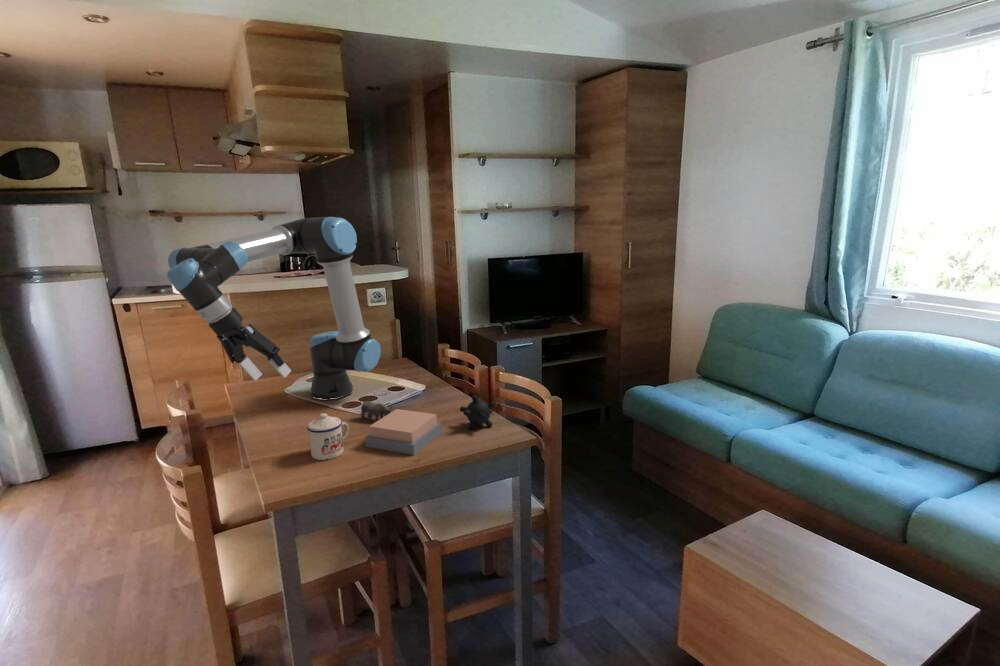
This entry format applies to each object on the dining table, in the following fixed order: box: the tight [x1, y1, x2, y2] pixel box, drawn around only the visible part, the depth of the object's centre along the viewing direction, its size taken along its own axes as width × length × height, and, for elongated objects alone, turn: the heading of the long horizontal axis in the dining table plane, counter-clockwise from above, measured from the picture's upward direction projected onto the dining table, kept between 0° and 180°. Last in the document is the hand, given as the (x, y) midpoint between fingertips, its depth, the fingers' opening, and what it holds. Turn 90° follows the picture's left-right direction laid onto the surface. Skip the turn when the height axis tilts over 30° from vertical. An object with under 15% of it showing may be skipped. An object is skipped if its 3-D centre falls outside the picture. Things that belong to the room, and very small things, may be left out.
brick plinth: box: [364, 408, 443, 456], centre depth 154 cm, size 16×16×6 cm
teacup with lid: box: [306, 412, 350, 461], centre depth 147 cm, size 12×9×12 cm
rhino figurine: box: [360, 400, 393, 423], centre depth 169 cm, size 4×14×6 cm, turn 64°
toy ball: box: [459, 394, 496, 431], centre depth 162 cm, size 11×11×12 cm
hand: (272, 376), depth 145 cm, fingers open, 13 cm apart
